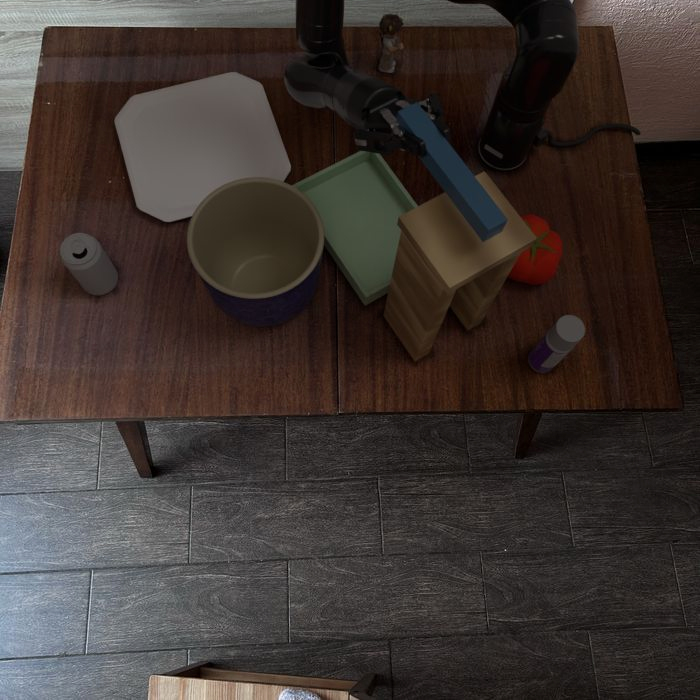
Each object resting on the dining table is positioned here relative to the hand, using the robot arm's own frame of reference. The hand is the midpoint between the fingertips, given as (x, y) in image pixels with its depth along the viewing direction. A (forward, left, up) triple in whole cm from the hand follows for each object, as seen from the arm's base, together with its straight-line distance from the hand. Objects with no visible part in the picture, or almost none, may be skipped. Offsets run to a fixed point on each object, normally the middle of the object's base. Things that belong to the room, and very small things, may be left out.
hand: (435, 143), depth 87 cm
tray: (0, -12, -39) cm, 41 cm away
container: (-12, +25, -39) cm, 48 cm away
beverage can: (+46, -27, -39) cm, 66 cm away
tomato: (-20, +8, -39) cm, 45 cm away
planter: (+22, -11, -39) cm, 46 cm away
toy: (-23, -41, -39) cm, 61 cm away
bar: (0, +4, -3) cm, 5 cm away
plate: (+18, -42, -39) cm, 60 cm away
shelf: (0, +9, -39) cm, 40 cm away
